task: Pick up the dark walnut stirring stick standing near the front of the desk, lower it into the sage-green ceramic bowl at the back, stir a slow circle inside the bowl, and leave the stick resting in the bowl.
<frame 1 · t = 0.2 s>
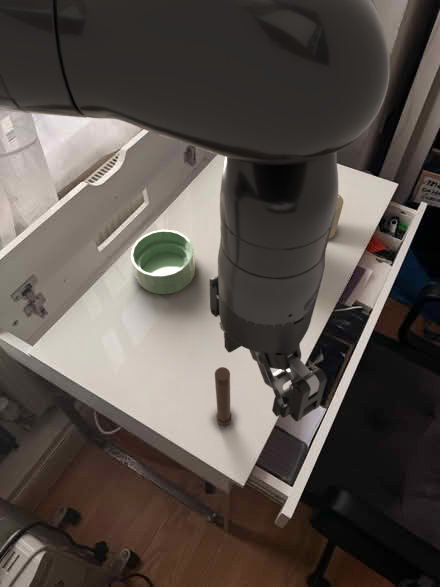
hand: (257, 376, 45), 26 cm above the table, tool pointing down, fingers open, 8 cm apart
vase: (268, 206, 100), on the table
mixing bowl: (165, 271, 89), on the table
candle: (322, 231, 95), on the table
bowl: (280, 262, 90), on the table
stirring stick: (224, 419, 70), on the table
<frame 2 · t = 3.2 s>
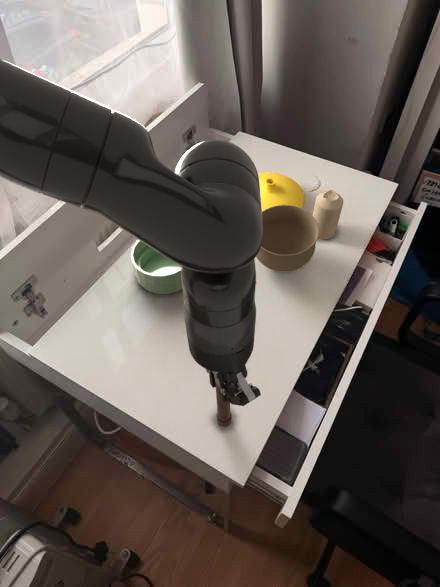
hand: (223, 389, 60), 12 cm above the table, tool pointing down, fingers closed on stirring stick, 2 cm apart
stirring stick: (224, 419, 70), on the table, touching gripper
everything else where it was.
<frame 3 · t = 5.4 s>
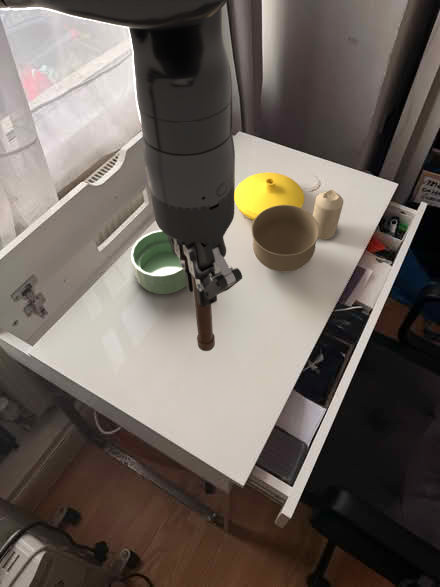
hand: (201, 294, 51), 27 cm above the table, tool pointing down, fingers closed on stirring stick
stirring stick: (206, 343, 61), point 15 cm above the table, touching gripper
everything else where it was.
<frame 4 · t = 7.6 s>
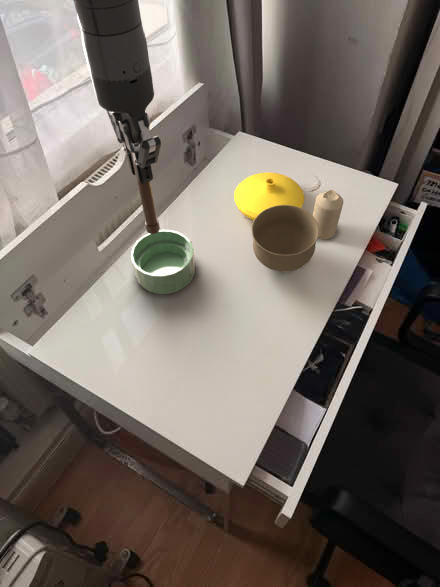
hand: (142, 176, 67), 25 cm above the table, tool pointing down, fingers closed on stirring stick
stirring stick: (153, 229, 77), point 14 cm above the table, touching gripper
everything else where it was.
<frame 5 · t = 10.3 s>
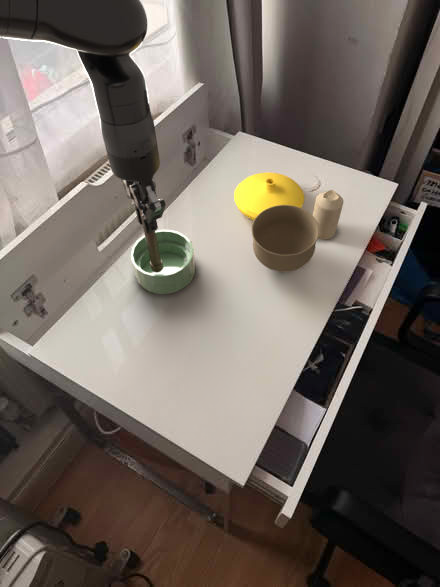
hand: (148, 226, 77), 14 cm above the table, tool pointing down, fingers closed on stirring stick, 2 cm apart
stirring stick: (157, 267, 86), point 2 cm above the table, touching gripper
everything else where it was.
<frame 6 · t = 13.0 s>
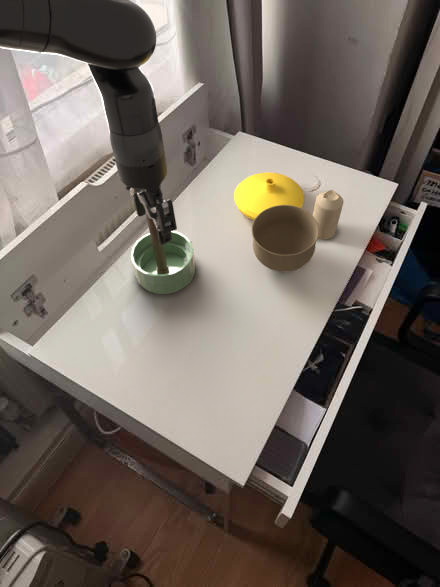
hand: (154, 227, 78), 13 cm above the table, tool pointing down, fingers open, 8 cm apart
stirring stick: (163, 272, 88), resting on mixing bowl
everything else where it was.
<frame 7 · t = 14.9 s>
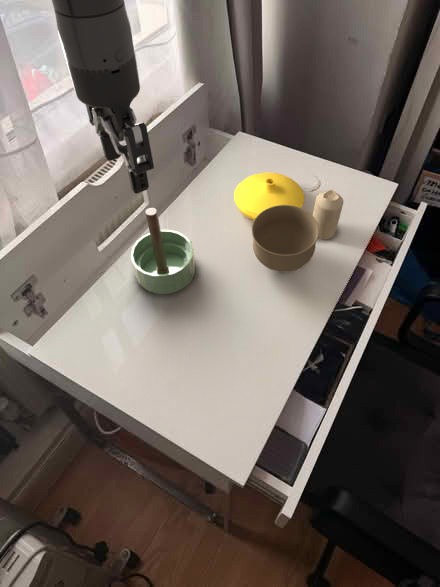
hand: (126, 173, 60), 30 cm above the table, tool pointing down, fingers open, 8 cm apart
nothing on the table moved.
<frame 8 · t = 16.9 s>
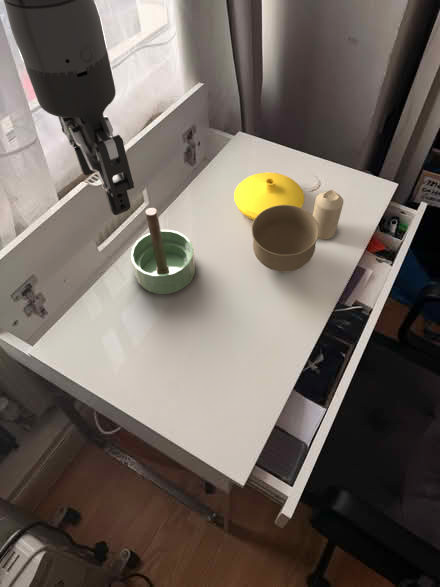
hand: (106, 190, 52), 34 cm above the table, tool pointing down, fingers open, 8 cm apart
nothing on the table moved.
at the end: stirring stick inside the target area in the mixing bowl (0.8 cm from its centre), point 0.5 cm above the mixing bowl's base; stirring stick touching mixing bowl; the gripper is holding nothing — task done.
